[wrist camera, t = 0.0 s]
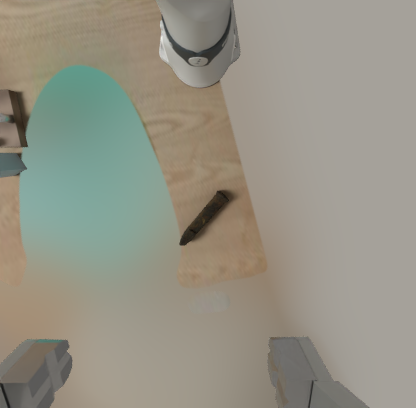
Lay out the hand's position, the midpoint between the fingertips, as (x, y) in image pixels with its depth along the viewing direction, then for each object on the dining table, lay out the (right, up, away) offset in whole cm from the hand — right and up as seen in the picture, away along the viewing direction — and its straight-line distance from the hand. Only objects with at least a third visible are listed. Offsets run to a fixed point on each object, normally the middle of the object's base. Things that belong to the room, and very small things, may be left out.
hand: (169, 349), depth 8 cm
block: (-50, +16, +45) cm, 70 cm away
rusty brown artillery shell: (0, +2, +50) cm, 50 cm away
